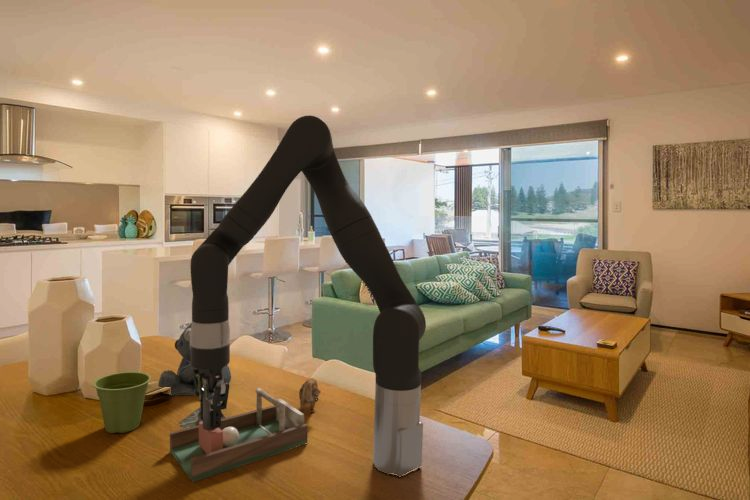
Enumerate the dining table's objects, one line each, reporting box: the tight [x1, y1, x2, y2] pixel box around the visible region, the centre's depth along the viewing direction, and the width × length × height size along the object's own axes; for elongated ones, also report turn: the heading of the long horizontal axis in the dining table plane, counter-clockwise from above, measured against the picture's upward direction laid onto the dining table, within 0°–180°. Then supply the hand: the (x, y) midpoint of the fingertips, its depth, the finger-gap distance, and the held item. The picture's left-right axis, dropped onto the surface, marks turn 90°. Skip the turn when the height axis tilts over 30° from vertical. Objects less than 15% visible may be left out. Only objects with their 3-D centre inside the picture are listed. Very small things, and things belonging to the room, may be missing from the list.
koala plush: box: [157, 323, 232, 397], centre depth 137 cm, size 17×18×20 cm
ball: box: [222, 427, 239, 447], centre depth 102 cm, size 4×4×4 cm
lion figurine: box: [298, 377, 322, 414], centre depth 125 cm, size 15×5×9 cm, turn 9°
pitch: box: [169, 387, 309, 483], centre depth 103 cm, size 14×25×10 cm, turn 130°
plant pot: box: [92, 371, 152, 434], centre depth 111 cm, size 12×12×11 cm
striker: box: [199, 393, 223, 454], centre depth 99 cm, size 7×3×12 cm, turn 40°
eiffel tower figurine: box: [178, 407, 227, 429], centre depth 118 cm, size 15×10×13 cm
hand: (210, 422), depth 99 cm, fingers open, 4 cm apart
